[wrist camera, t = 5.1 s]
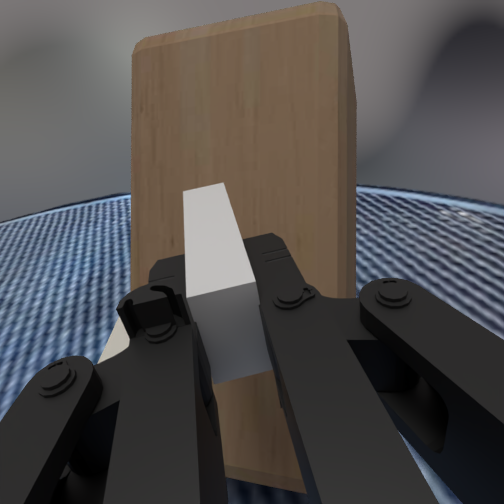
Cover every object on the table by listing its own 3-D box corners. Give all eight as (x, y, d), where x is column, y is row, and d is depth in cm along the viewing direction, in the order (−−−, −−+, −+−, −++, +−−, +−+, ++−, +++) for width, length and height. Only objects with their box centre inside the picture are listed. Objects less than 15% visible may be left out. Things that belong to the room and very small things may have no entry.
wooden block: (211, 389, 27) (212, 110, 27) (355, 408, 23) (357, 92, 23) (120, 465, 17) (122, 31, 17) (343, 514, 14) (345, -18, 14)
